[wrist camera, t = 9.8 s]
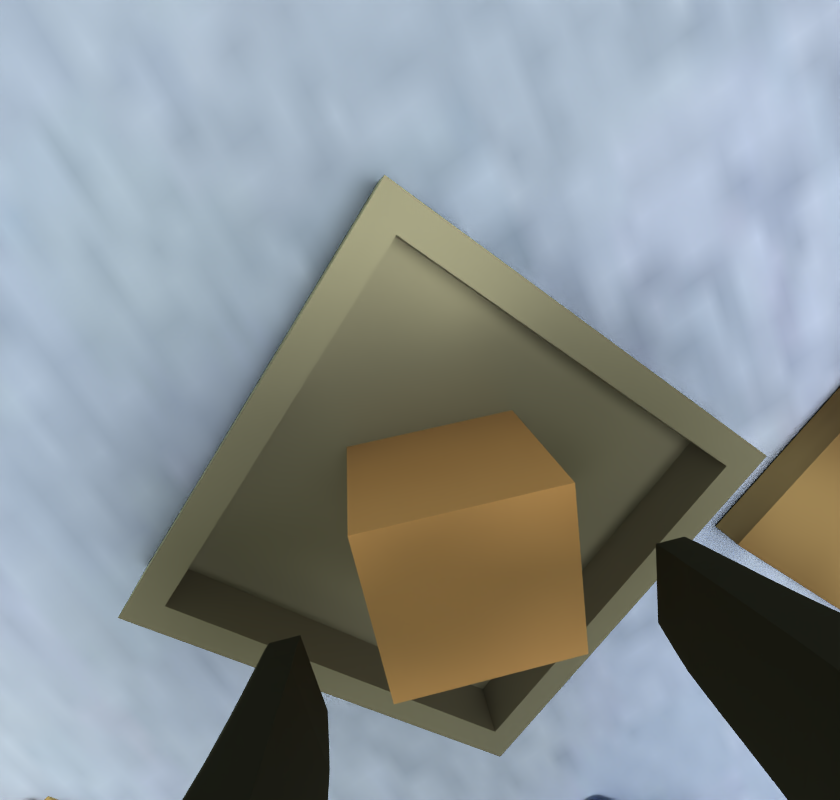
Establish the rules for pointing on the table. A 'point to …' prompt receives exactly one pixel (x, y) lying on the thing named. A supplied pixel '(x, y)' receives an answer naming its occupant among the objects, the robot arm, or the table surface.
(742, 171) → the table surface
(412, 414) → the tray
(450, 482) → the orange cube
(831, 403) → the post base
